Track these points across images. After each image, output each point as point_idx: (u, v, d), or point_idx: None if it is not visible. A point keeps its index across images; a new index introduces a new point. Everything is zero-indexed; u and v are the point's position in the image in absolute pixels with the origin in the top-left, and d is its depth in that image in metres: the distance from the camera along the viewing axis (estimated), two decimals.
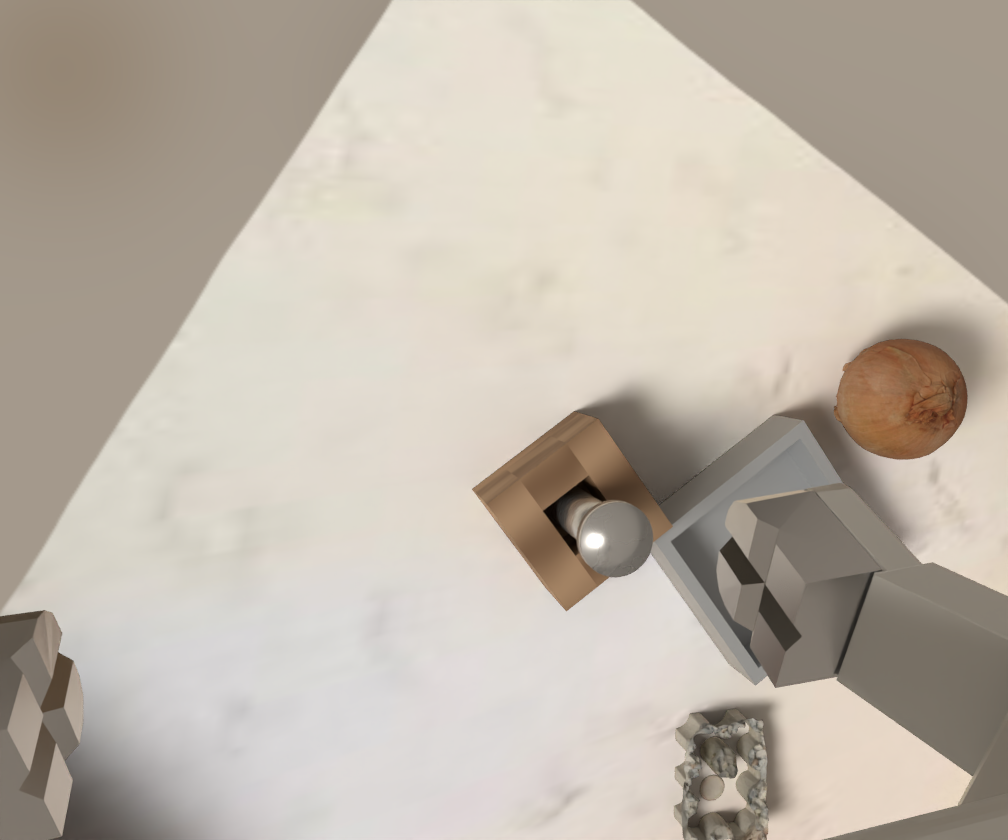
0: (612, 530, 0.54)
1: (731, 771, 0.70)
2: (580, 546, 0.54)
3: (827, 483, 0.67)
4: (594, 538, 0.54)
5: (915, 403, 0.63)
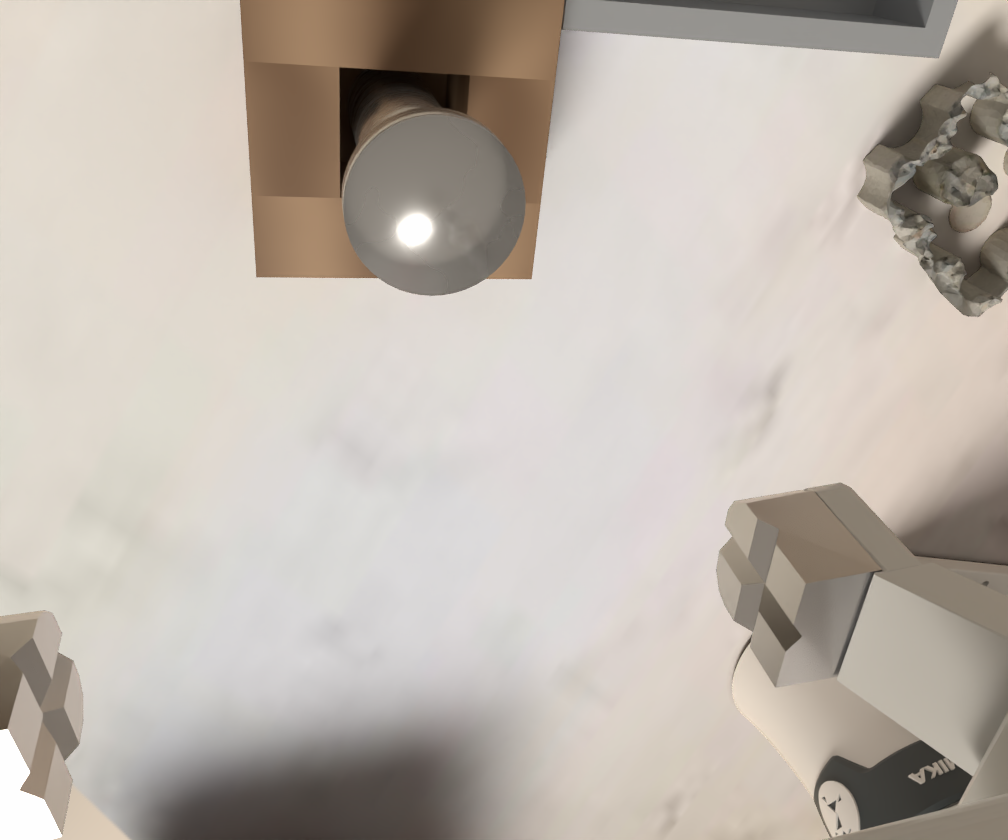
0: (409, 204, 0.22)
1: (986, 185, 0.38)
2: None
3: None
4: (395, 251, 0.23)
5: None
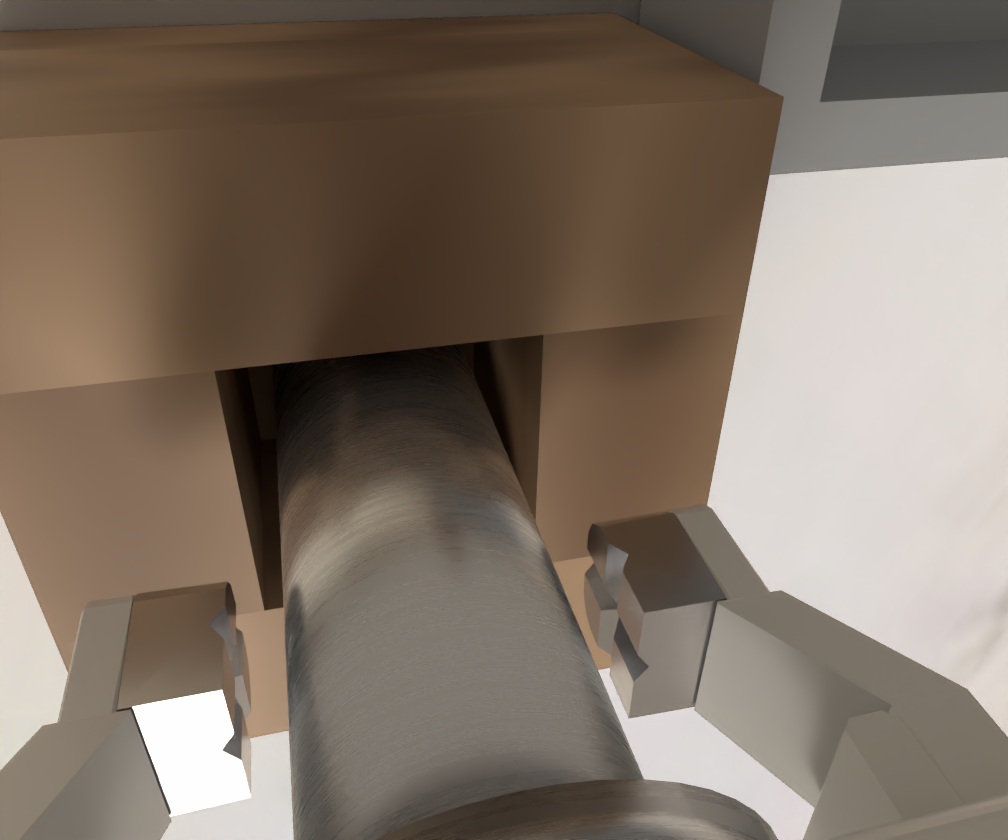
0: None
1: None
2: None
3: None
4: None
5: None
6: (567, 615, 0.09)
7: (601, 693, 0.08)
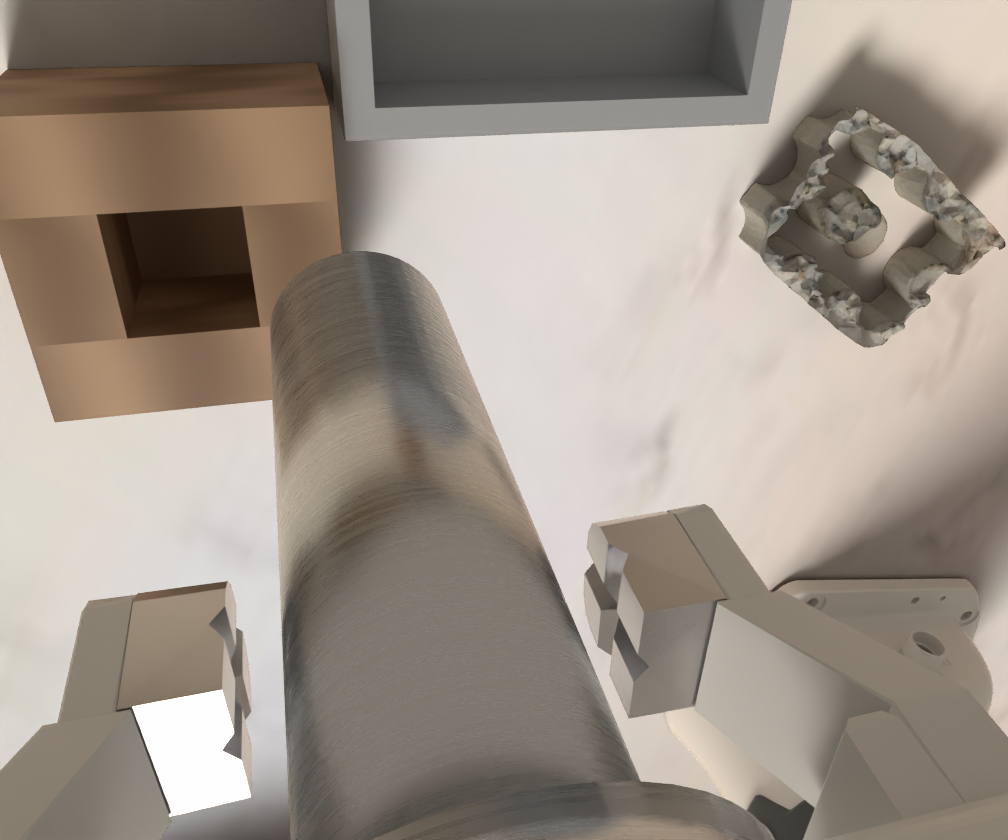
0: None
1: (869, 218, 0.36)
2: None
3: None
4: None
5: None
6: (564, 616, 0.09)
7: (598, 694, 0.08)
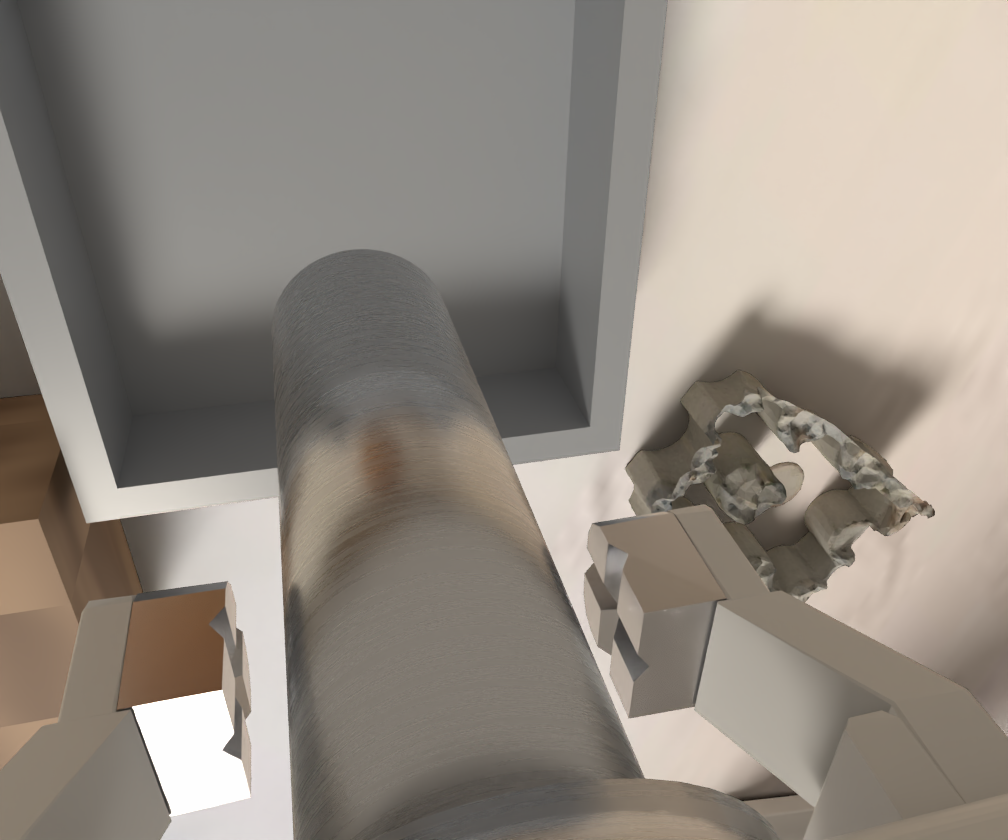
0: None
1: (772, 495, 0.31)
2: None
3: None
4: None
5: None
6: (568, 614, 0.09)
7: (602, 692, 0.08)
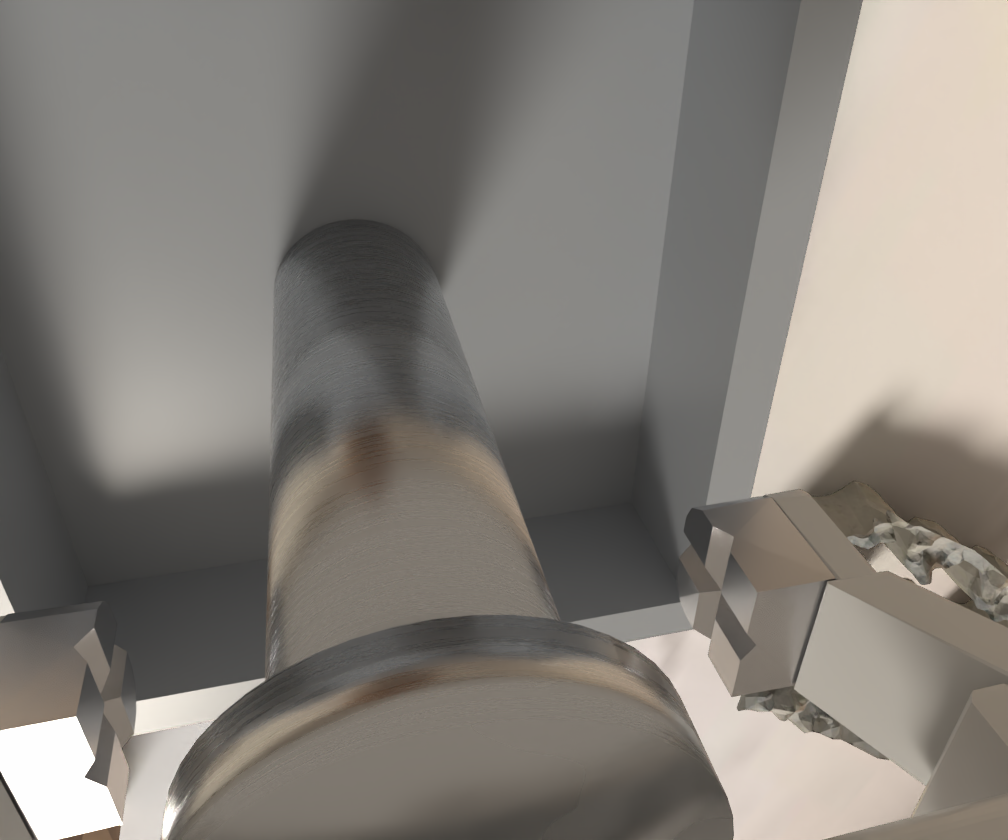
0: None
1: None
2: None
3: None
4: None
5: None
6: (516, 522, 0.10)
7: (539, 583, 0.09)
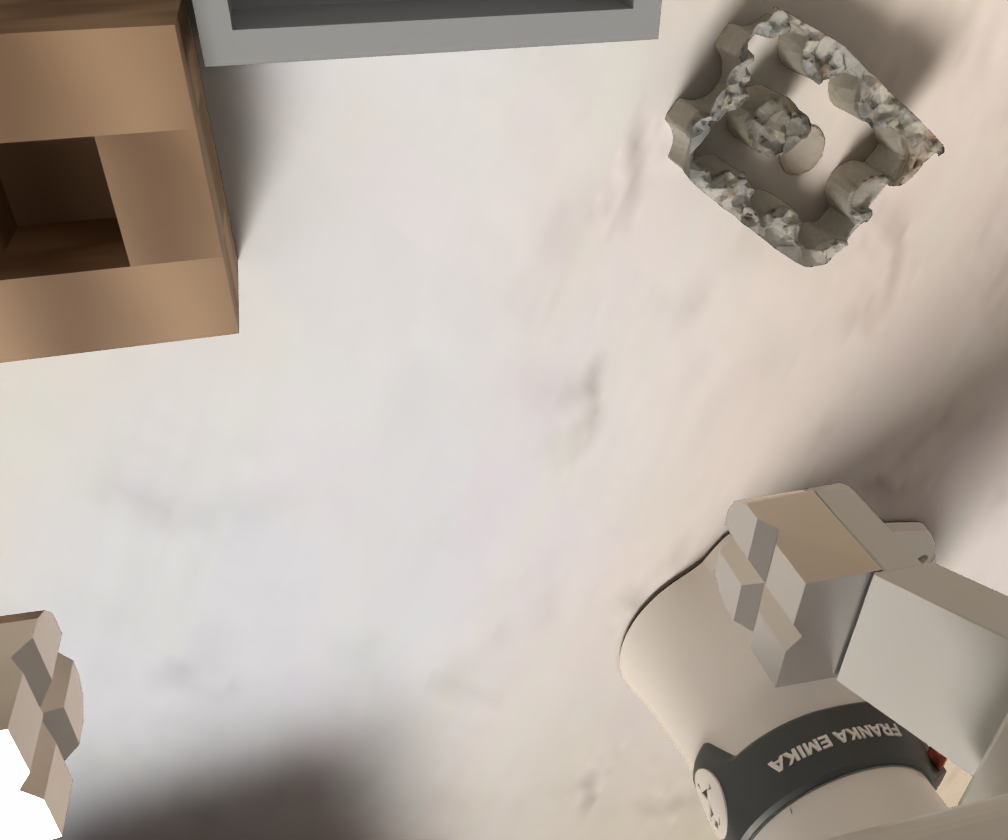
0: None
1: (798, 128, 0.35)
2: None
3: None
4: None
5: None
6: None
7: None
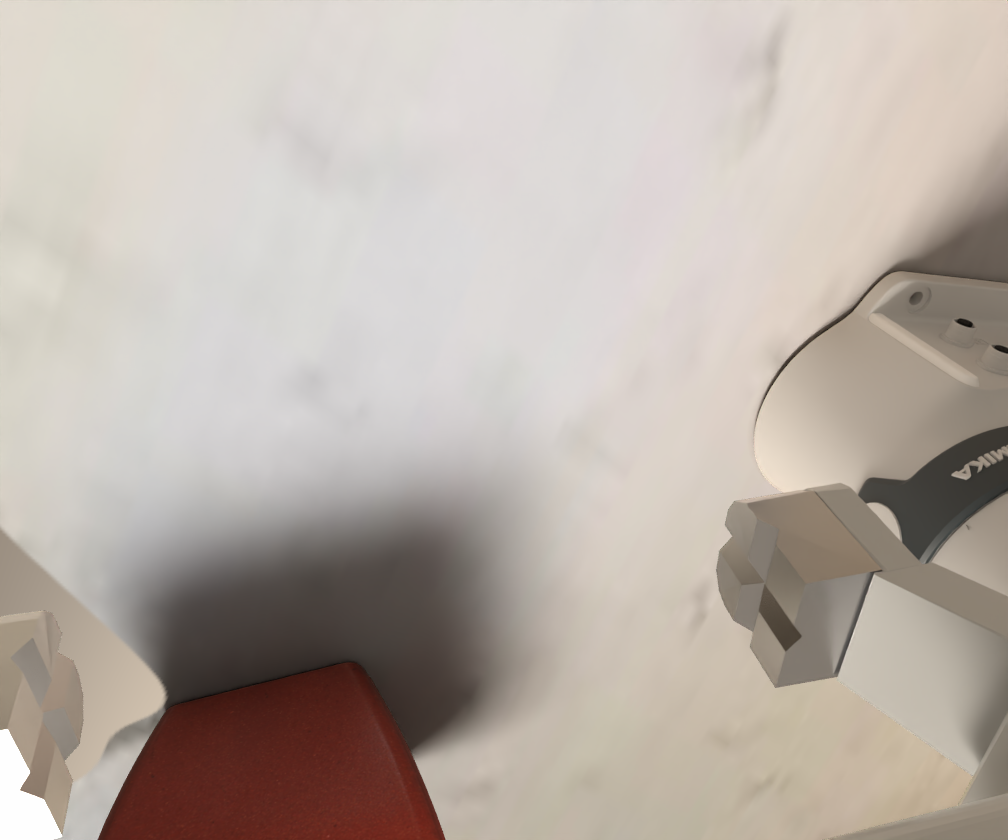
0: None
1: None
2: None
3: None
4: None
5: None
6: None
7: None
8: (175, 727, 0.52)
